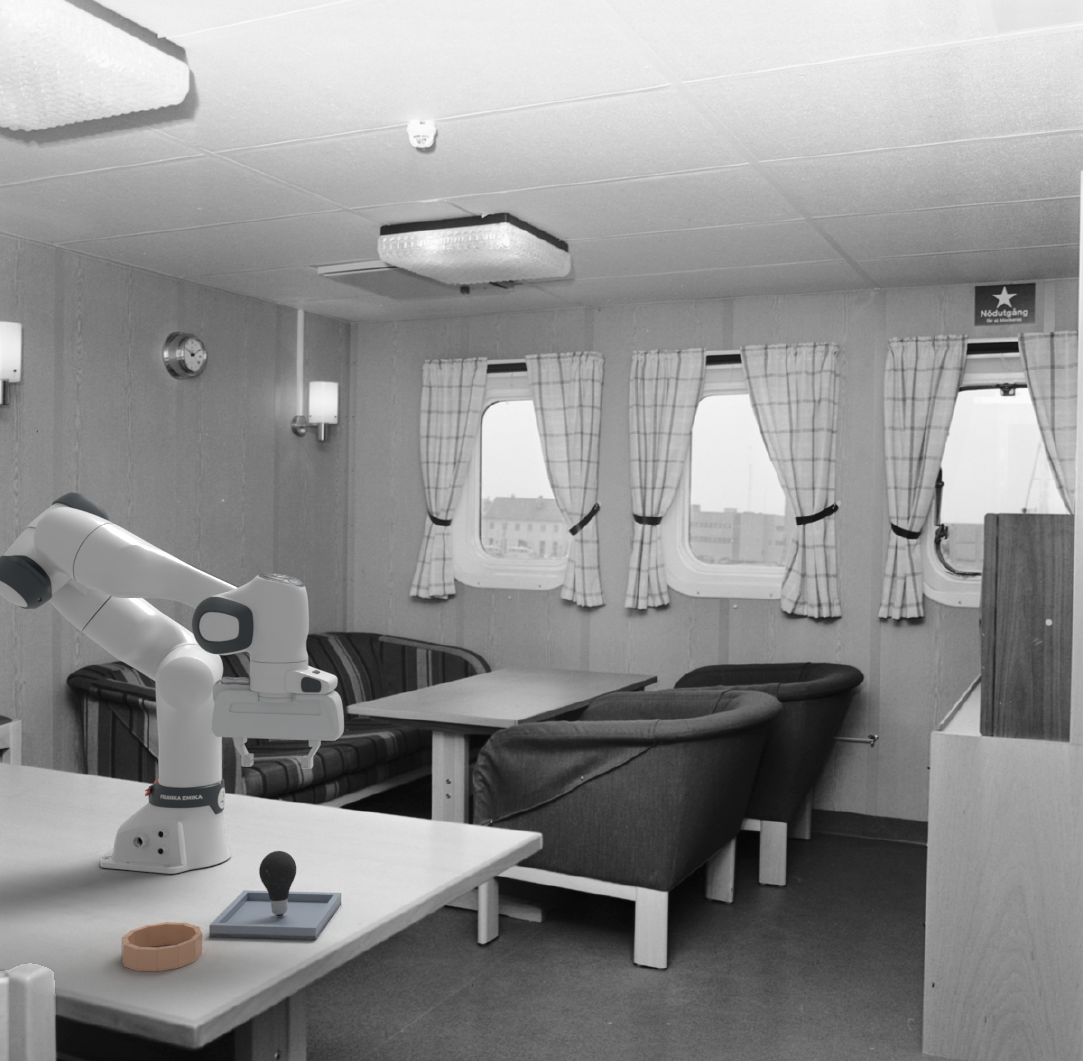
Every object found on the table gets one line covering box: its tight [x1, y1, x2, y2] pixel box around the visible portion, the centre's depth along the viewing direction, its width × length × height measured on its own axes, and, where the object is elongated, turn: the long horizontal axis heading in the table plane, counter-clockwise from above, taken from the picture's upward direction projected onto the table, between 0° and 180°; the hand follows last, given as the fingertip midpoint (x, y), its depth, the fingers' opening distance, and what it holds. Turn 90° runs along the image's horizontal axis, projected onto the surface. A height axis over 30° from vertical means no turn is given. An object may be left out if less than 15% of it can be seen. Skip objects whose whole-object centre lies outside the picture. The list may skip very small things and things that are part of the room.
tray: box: [208, 889, 342, 941], centre depth 181 cm, size 16×16×2 cm
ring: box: [120, 921, 203, 972], centre depth 166 cm, size 11×11×3 cm
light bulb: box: [258, 850, 297, 917], centre depth 181 cm, size 6×6×10 cm
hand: (277, 766), depth 182 cm, fingers open, 8 cm apart
